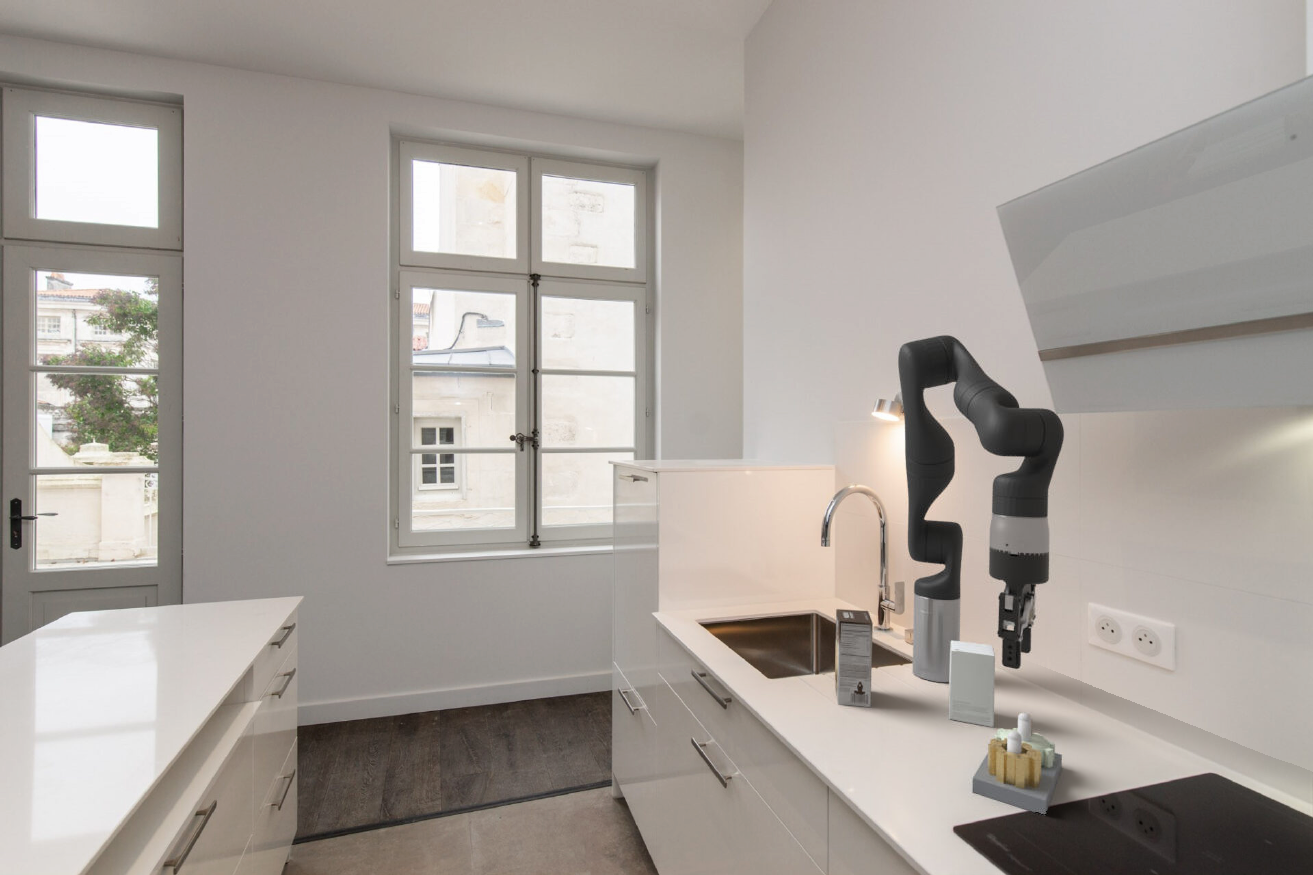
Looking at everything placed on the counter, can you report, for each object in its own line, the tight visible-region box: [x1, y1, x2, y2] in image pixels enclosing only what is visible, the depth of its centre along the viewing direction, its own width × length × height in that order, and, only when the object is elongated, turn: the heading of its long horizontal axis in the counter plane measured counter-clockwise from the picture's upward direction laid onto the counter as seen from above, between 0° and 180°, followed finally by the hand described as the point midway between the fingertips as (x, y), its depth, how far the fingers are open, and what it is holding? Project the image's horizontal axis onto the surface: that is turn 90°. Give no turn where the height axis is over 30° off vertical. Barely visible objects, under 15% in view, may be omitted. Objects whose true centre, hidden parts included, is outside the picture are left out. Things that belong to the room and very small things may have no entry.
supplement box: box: [948, 640, 996, 728], centre depth 119 cm, size 7×7×13 cm
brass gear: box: [987, 738, 1041, 789], centre depth 93 cm, size 6×6×4 cm
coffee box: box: [834, 608, 874, 708], centre depth 127 cm, size 9×6×16 cm
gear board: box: [971, 712, 1063, 815], centre depth 96 cm, size 17×9×8 cm, turn 142°
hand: (1016, 659), depth 93 cm, fingers open, 8 cm apart
